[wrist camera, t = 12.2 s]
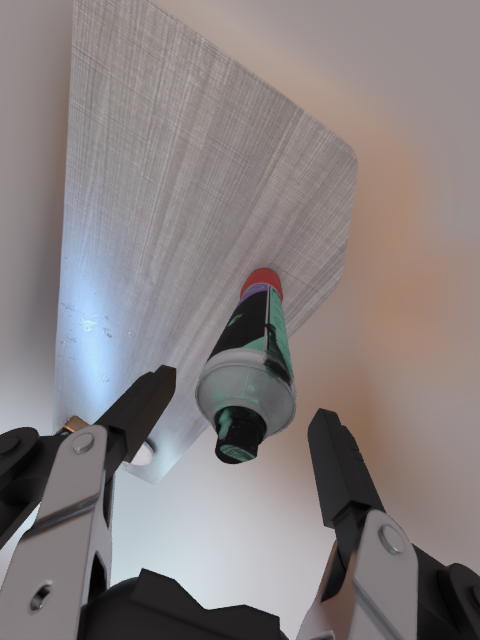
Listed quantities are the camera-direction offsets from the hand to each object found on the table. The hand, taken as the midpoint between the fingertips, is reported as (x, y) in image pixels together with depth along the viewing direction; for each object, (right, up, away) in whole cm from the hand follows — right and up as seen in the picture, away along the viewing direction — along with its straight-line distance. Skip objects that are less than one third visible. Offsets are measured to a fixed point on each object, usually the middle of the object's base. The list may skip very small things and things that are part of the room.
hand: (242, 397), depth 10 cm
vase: (-40, -44, +59) cm, 83 cm away
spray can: (+3, +7, +15) cm, 17 cm away
